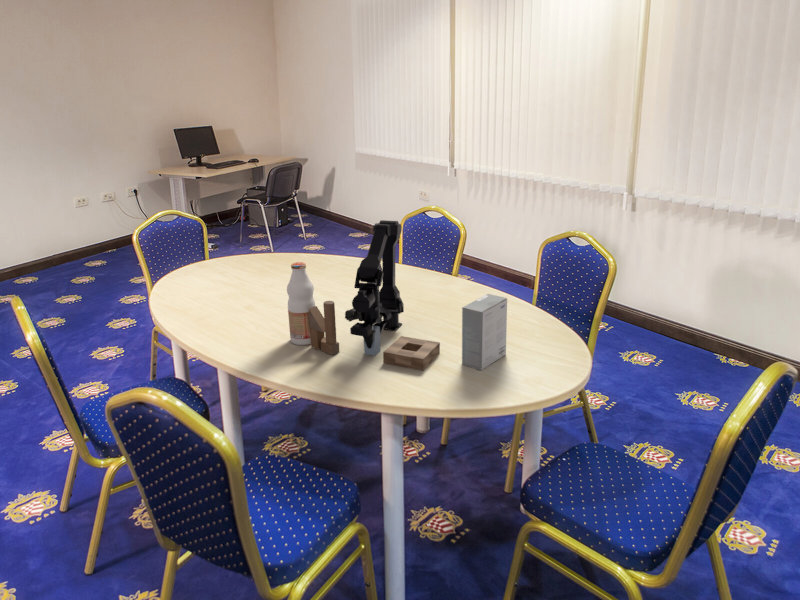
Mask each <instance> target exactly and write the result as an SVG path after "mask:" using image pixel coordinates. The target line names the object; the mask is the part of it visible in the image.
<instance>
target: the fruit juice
mask: <svg viewBox="0 0 800 600" xmlns="http://www.w3.org/2000/svg"><path fill="white" fill-rule="evenodd" d="M290 267H291V271H292V272H291V273H290V274H291V275H290V279H289V282H288V284H287V285H286V292H287V293H286V294H287V295H288V300H287V313H288V326H289V327H288V329H289V338H290V341H291V343H292V344H294V345H297V346H306V345H308V346H309V345H311V336H310V323H309V308H312V307H315V306H316V300H315V298H314V289H315V287H314V283H312V281H311V279H310V277H309V275H308V273H307V271H306V268H307V264H306V263H305V262H303V261H302V262H301V261H300V262H299V261H298V262H292V263H291V264H290Z"/></svg>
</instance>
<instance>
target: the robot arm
mask: <svg viewBox="0 0 800 600" xmlns="http://www.w3.org/2000/svg"><path fill="white" fill-rule="evenodd" d="M402 226H403V225H402V224H401V223H399V221H398V220H384V219H383V220H380V221H379V222H378V223H377V222H376V223H374V226H373V235H372V239H371V242H370V246H369V248H368V253H367V254H366V257H364V258H363V259H362V260H361V261H360V263H359V267H357V269H356V274H355V275H356V276H355V282H354V289H358V291H357V293H356V295H355V296H354V297H353V299H352V300H351V305H352V306H351V307H352V308H351V309H347V310H345V312H344V319H345V320H346V321H348V322H352V321H357V320H358V322H356V323H354V324H353V325H352V326H351V327H350V331H349V333H350V335H353V336H358V337H359V336H360V337H362V338H363V341H364V340H365V343H366V345H367V348H371V346H372V343H373V340H374V336H375V333H376V331H375V330H373V326H380V336H381V335H382V332H383V330H390V331H396V330H398V329H400V328H401V327H402V326H403V323H402V322H399V321H400V319H399V318H400V317H399V315H400V314H401V313H404V312H405V308H404V305H405V304H404V302H403V299H402V298H401V293H400V290H399V289H398V287H397V285H396V245H397V243H398V241H399V240H400V238H401V234H402V231H403V230H402ZM381 262H382V264H381ZM380 287H381V288H380Z"/></svg>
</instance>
